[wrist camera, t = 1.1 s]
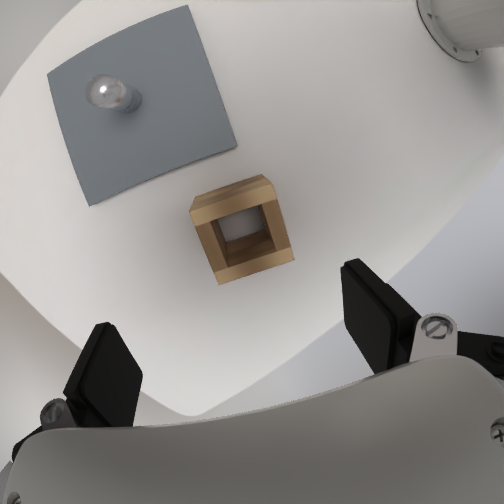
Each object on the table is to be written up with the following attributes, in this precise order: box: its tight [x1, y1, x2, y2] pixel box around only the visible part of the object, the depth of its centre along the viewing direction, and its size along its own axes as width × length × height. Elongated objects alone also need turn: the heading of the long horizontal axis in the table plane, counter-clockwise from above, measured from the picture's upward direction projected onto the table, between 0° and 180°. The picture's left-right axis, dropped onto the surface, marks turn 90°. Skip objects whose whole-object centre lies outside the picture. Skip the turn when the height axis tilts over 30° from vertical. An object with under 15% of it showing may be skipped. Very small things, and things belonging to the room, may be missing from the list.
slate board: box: [47, 5, 237, 207], centre depth 23 cm, size 16×16×2 cm
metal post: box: [85, 74, 142, 112], centre depth 19 cm, size 2×2×8 cm
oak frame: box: [189, 174, 294, 285], centre depth 27 cm, size 7×7×6 cm
